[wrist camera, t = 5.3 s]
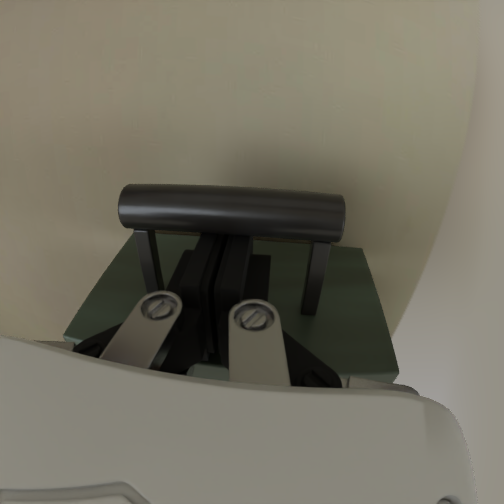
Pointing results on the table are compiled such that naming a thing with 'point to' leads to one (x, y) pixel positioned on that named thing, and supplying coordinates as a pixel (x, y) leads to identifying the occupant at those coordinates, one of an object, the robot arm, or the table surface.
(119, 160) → the table surface
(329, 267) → the drawer
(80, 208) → the table surface
